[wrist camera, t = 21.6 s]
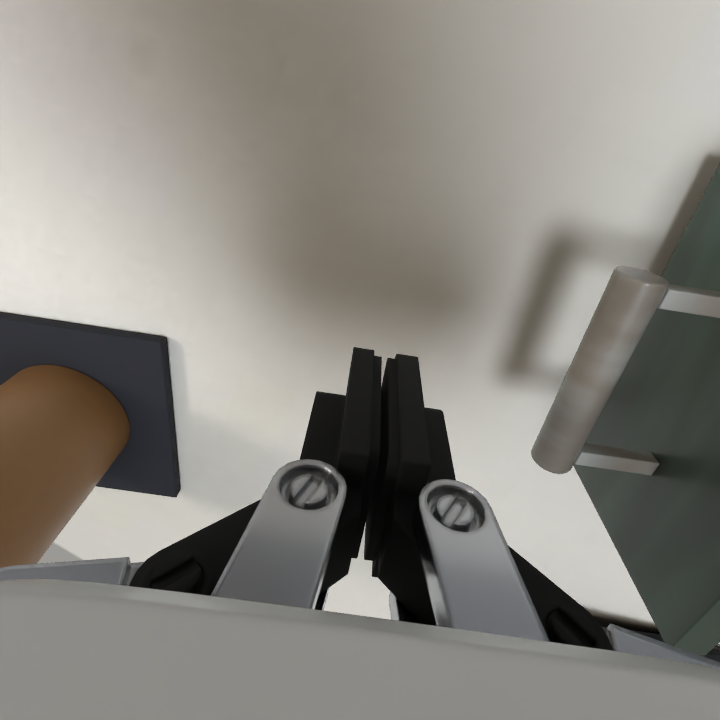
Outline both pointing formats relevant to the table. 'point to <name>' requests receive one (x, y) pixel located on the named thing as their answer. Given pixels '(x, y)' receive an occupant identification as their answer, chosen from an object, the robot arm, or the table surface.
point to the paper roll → (51, 454)
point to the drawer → (654, 428)
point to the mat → (121, 377)
